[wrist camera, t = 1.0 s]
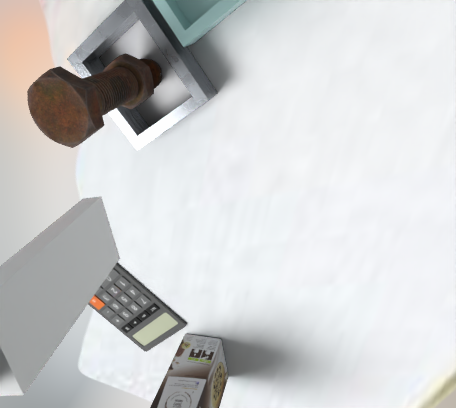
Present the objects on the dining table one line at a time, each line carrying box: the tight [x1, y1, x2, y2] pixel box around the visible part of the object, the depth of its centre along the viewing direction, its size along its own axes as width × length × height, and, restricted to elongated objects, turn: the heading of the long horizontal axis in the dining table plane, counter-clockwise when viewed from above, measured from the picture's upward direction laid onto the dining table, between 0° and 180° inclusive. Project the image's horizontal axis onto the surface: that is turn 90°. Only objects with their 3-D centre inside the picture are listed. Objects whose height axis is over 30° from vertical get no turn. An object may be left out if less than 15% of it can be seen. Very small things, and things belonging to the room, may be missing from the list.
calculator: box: [88, 263, 186, 351], centre depth 59 cm, size 12×1×15 cm
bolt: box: [28, 54, 162, 148], centre depth 34 cm, size 6×5×15 cm
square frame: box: [67, 0, 217, 150], centre depth 39 cm, size 10×11×3 cm
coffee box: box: [150, 334, 228, 408], centre depth 53 cm, size 9×6×16 cm
